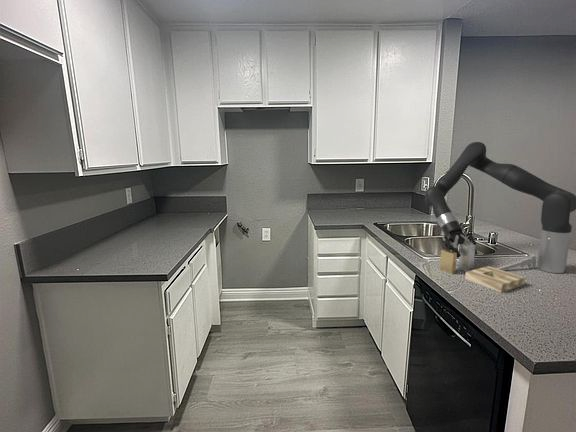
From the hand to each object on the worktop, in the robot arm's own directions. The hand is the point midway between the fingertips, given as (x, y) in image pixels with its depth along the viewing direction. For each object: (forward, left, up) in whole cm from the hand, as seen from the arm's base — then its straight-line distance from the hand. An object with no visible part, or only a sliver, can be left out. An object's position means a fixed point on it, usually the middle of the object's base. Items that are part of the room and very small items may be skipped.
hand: (467, 255), depth 133 cm
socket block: (+3, +14, -6) cm, 15 cm away
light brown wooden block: (+9, -2, -6) cm, 11 cm away
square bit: (0, 0, -6) cm, 6 cm away
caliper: (-17, +10, -7) cm, 21 cm away
